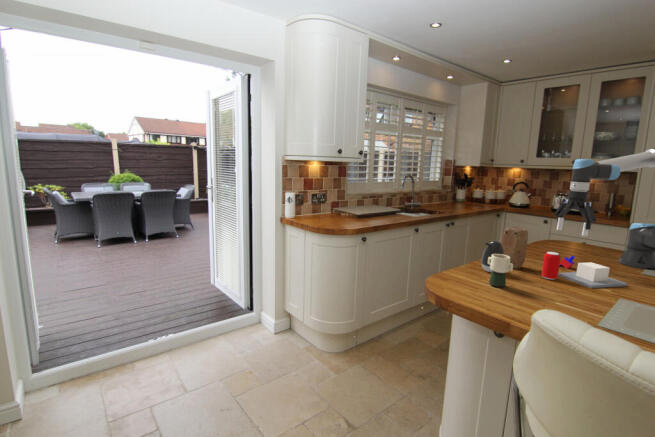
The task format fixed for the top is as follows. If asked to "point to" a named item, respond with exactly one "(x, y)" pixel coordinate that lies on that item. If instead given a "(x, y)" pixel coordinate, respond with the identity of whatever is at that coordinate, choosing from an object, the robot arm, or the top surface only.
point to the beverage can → (551, 265)
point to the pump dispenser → (490, 253)
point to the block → (515, 245)
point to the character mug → (499, 269)
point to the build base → (590, 283)
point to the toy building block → (567, 262)
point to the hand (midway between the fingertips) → (571, 232)
